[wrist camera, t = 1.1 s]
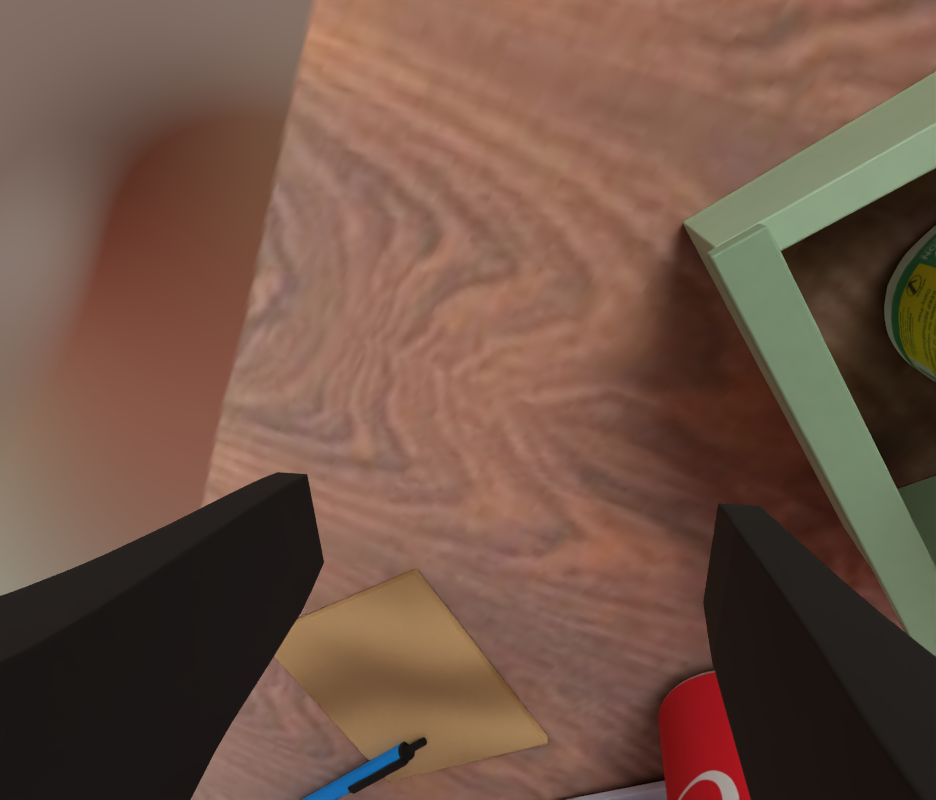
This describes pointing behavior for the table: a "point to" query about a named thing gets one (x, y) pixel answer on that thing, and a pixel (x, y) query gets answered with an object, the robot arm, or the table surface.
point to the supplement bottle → (914, 306)
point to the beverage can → (699, 743)
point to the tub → (801, 344)
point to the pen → (369, 772)
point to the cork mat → (406, 678)
